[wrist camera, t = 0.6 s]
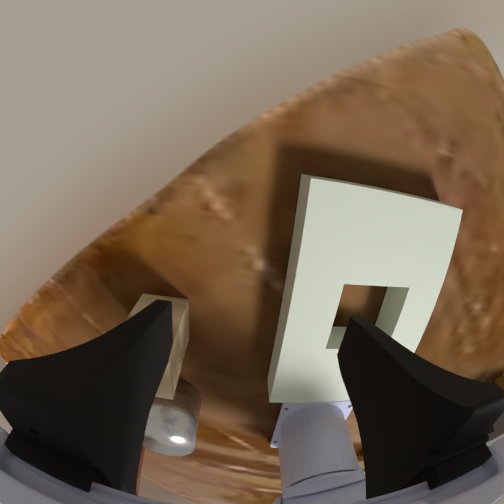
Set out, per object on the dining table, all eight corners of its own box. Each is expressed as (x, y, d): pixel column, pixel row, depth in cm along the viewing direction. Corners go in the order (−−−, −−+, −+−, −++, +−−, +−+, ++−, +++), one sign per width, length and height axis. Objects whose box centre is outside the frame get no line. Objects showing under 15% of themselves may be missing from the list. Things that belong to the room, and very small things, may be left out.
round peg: (202, 415, 26) (195, 459, 21) (150, 406, 26) (137, 449, 20) (201, 380, 24) (193, 430, 19) (143, 371, 24) (125, 417, 18)
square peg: (189, 337, 22) (173, 399, 16) (146, 331, 22) (119, 389, 16) (188, 299, 21) (168, 358, 15) (142, 293, 21) (108, 347, 14)
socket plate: (381, 375, 25) (391, 395, 22) (267, 378, 24) (269, 402, 21) (440, 201, 19) (462, 209, 16) (301, 174, 18) (311, 178, 15)
